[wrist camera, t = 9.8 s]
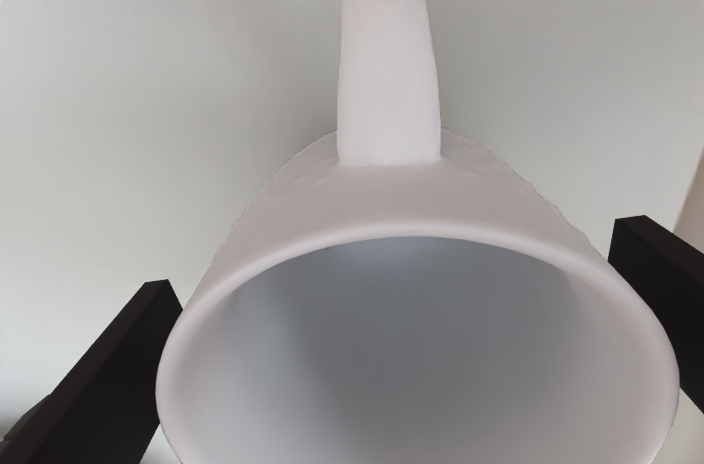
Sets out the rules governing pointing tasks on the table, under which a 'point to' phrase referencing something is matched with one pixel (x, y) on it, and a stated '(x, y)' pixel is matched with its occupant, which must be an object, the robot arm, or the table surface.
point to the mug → (410, 301)
